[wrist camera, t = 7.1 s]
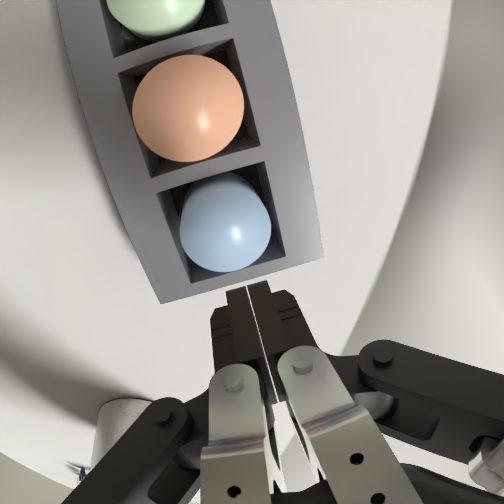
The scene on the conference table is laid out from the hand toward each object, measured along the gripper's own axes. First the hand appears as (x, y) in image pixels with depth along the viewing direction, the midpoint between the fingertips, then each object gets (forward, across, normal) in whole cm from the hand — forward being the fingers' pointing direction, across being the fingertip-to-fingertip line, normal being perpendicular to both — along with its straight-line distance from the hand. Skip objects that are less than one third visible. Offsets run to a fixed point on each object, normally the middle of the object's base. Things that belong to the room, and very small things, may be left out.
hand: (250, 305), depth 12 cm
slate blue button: (+9, 0, -1) cm, 9 cm away
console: (+10, 0, -7) cm, 12 cm away
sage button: (+9, +1, -14) cm, 16 cm away
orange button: (+8, 0, -7) cm, 10 cm away
